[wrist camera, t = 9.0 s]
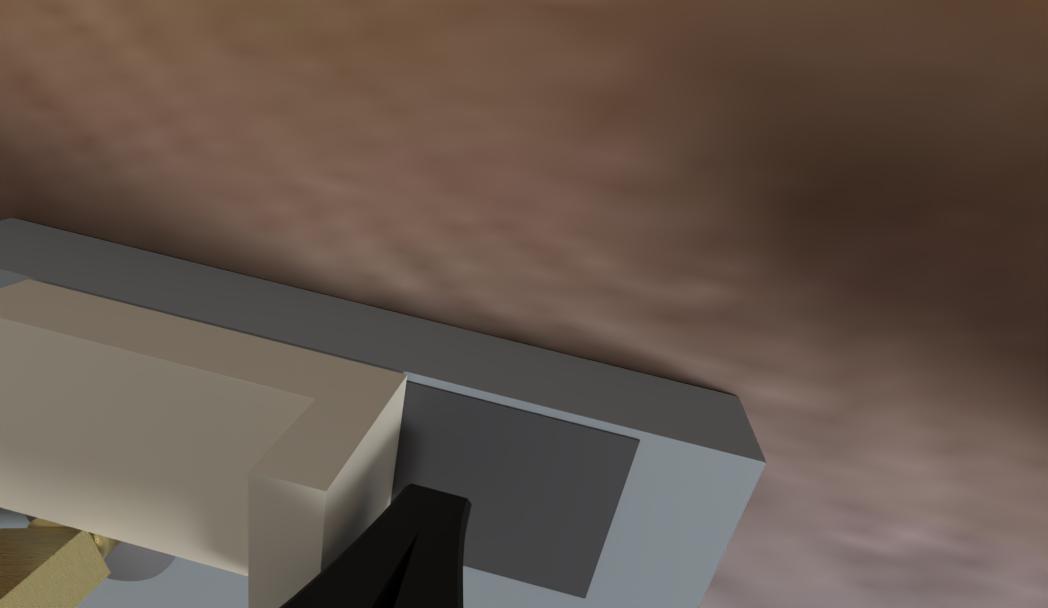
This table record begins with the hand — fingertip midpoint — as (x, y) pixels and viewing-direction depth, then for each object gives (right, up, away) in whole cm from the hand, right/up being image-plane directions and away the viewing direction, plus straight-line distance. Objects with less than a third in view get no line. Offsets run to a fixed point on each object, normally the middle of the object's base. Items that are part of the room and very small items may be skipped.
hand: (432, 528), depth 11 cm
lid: (-5, +2, +2) cm, 6 cm away
